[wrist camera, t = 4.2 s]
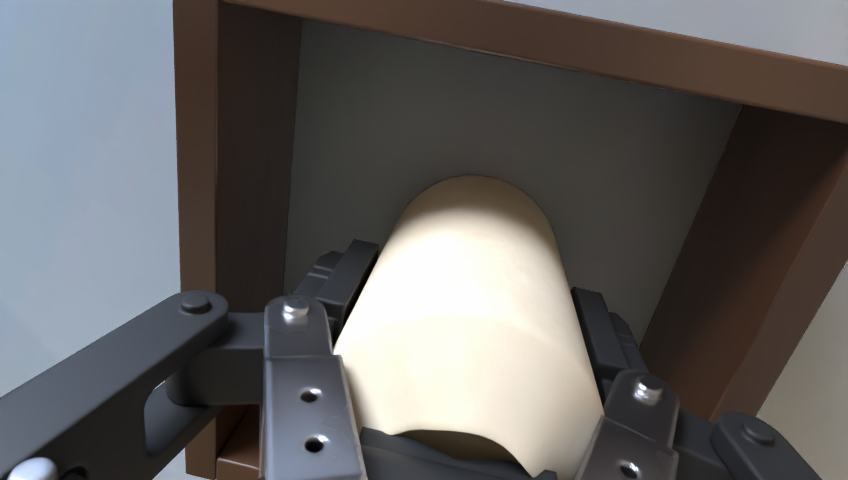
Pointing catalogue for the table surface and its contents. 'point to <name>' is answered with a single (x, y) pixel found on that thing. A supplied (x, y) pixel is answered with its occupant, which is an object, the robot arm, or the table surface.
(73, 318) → the table surface
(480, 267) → the candle
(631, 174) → the table surface
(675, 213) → the table surface
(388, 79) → the table surface
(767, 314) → the walnut box
